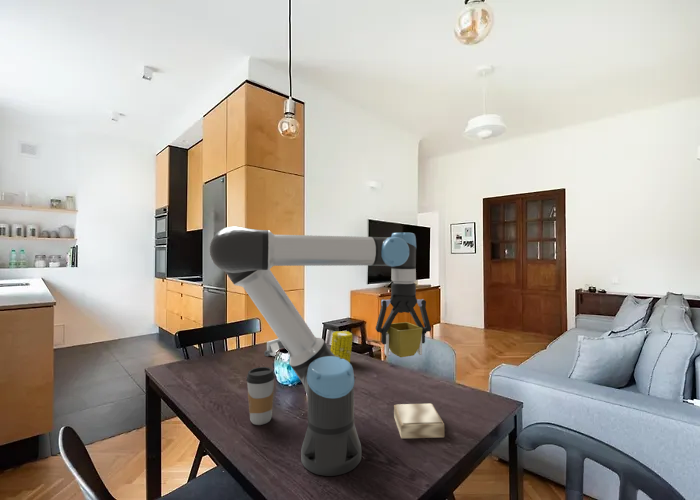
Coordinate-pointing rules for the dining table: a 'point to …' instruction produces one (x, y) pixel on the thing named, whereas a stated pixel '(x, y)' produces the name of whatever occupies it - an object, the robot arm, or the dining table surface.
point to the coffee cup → (260, 394)
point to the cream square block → (418, 421)
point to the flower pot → (404, 338)
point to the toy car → (273, 347)
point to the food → (342, 344)
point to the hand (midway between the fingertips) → (403, 354)
